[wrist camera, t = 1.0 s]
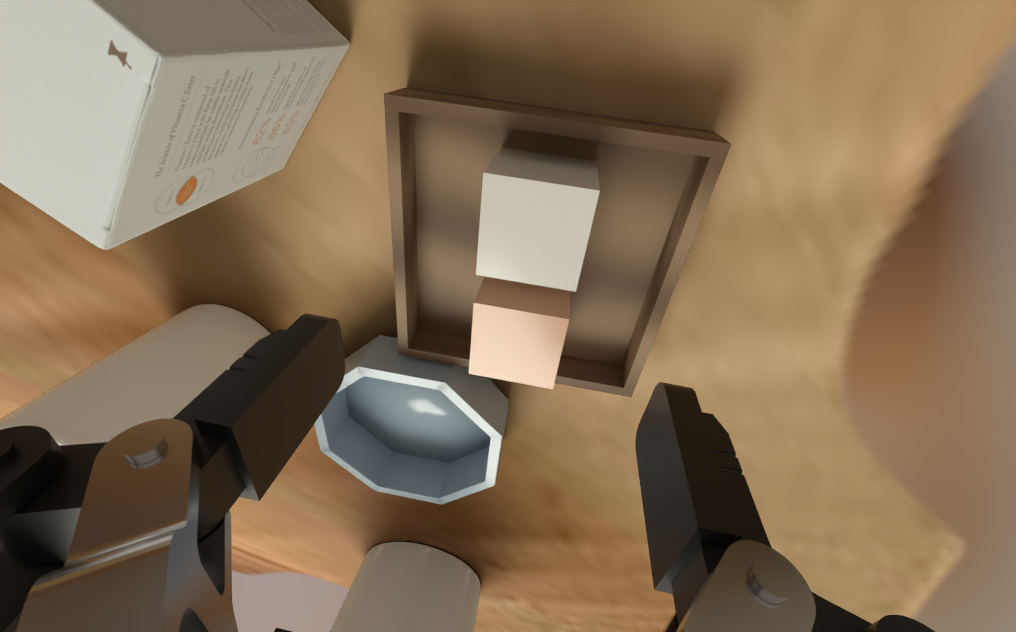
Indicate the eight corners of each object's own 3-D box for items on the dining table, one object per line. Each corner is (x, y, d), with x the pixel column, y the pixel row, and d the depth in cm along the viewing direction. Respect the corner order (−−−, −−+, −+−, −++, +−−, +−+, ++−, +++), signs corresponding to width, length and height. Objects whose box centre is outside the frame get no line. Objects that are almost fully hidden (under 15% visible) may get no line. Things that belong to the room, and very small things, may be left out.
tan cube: (491, 260, 23) (473, 302, 19) (571, 273, 23) (569, 319, 19) (485, 325, 26) (468, 373, 22) (557, 337, 25) (552, 389, 22)
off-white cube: (501, 147, 20) (483, 172, 16) (596, 161, 19) (599, 190, 16) (493, 235, 22) (475, 274, 18) (577, 248, 22) (575, 291, 18)
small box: (243, -67, 17) (-105, -174, 8) (356, 44, 19) (162, 50, 10) (187, 92, 21) (-89, 131, 12) (284, 172, 23) (100, 256, 14)
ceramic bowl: (329, 319, 28) (297, 355, 25) (517, 353, 27) (508, 394, 24) (350, 442, 35) (327, 481, 32) (498, 471, 35) (490, 514, 31)
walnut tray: (405, 87, 19) (383, 93, 17) (714, 131, 18) (731, 143, 16) (413, 329, 27) (398, 354, 25) (627, 368, 26) (631, 397, 24)
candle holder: (311, 337, 29) (174, 490, 19) (285, 413, 35) (166, 563, 25) (173, 267, 28) (-56, 396, 18) (167, 359, 33) (-10, 497, 23)
